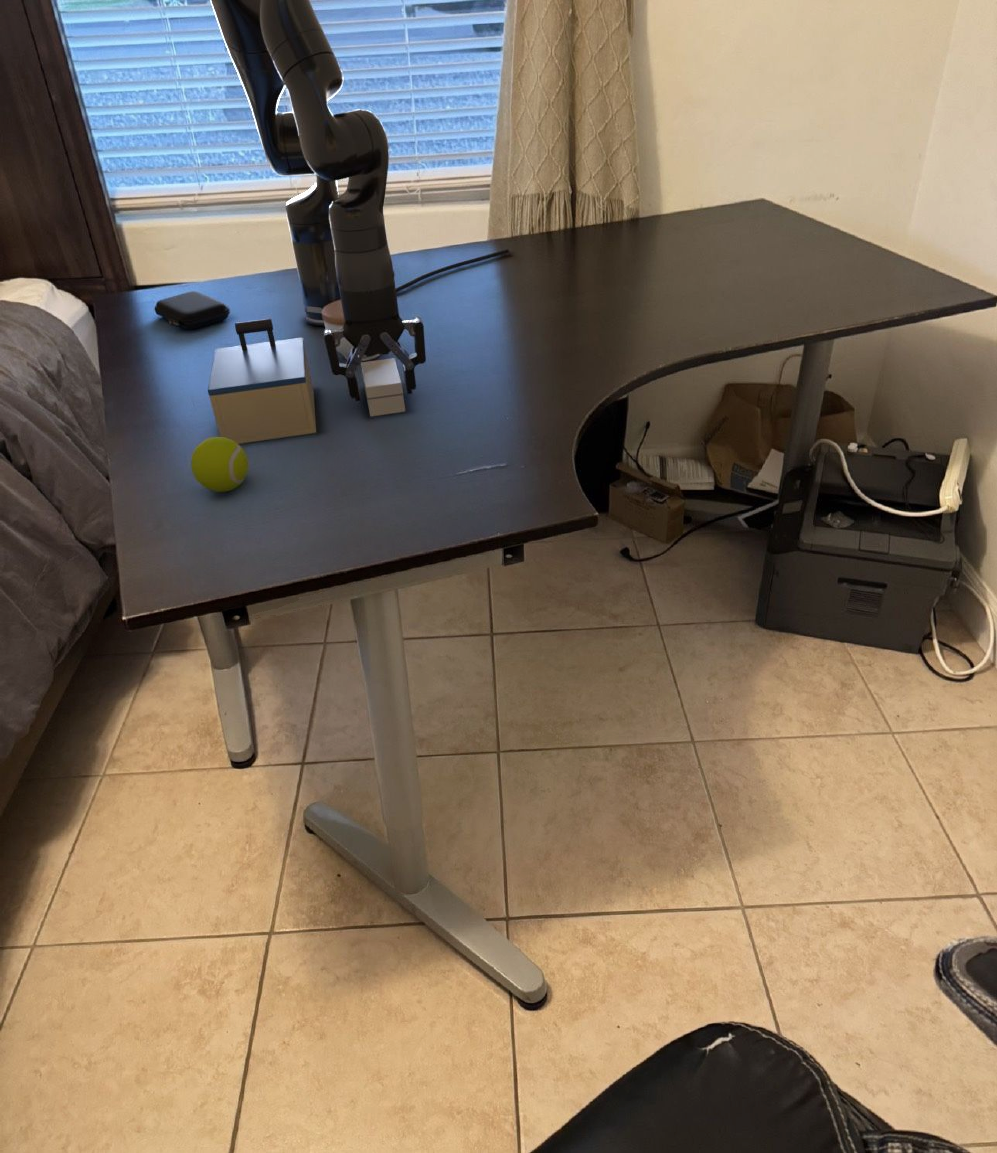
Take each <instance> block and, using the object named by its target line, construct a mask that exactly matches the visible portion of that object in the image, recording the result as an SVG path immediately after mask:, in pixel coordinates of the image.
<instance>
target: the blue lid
mask: <svg viewBox="0 0 997 1153" xmlns="http://www.w3.org/2000/svg"><path fill="white" fill-rule="evenodd" d="M234 329H235V333H236V335H238V339H239V342H240V345H234V346H226V347H219V348H215V349H214V354H213V358H212V359H213V360H212V364H211V370H210V377H209V382H208V385H207V395H208V396H209V395H217V394H224V393H232V392H239V391H246V390H254V389H261V388H268V387H276V386H283V385H290V384H298V383H305V382H306V373H305V353H304V346H305V340H304V337H296V338H295V337H294V338H287V339H280V340H279V339H278V340H275V337H274V332H273V331H274V326H273V320H272V318H264V319H263V318H261V319H254V320H247V321H239V322H235V323H234ZM260 332H266V333H267V336H268V341H264V342H257V343H256V342H255V343H249V344H247V340H246V336H245V334H246V335H247V334H254V333H260Z"/></svg>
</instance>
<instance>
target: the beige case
mask: <svg viewBox="0 0 997 1153" xmlns="http://www.w3.org/2000/svg"><path fill="white" fill-rule="evenodd" d="M395 358H396V357H391V358H385V359H377V360H368V361H361V362H360V367H361V375H362V380H363V386H364V392H365V396H366V397H365V398H366V401H367V406H368V412H369V416H370V418H371V417H377V416H378V417H379V416H384V415H391V414H398V413H399V414H400V413H406V405H405V398H404V390H403V384H402V379H401V376H400V373H399V372H400V371H399V369H398V365H397V361H396V359H395Z"/></svg>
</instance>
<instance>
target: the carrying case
mask: <svg viewBox="0 0 997 1153" xmlns="http://www.w3.org/2000/svg"><path fill="white" fill-rule="evenodd" d="M154 312H155V314H156V315H157V316H160V317H162V318H164V319H166V320H167V321H168V323H169V325H171V326H177V327H182V328H184V329H187V330H197V329H198V328H202V327H206V326H208V325H209V326H210V325H213V324H216V323H218V322H222V321H225V320H227V319H228V318H229V315H230V314H231V308H230V307H229V306H228V305H227V304H225V303H224V302H222V301H220V300H217V299H215V298H214V297H210V296H208V295H206V294H204V293H201V292H199V291H194V290H193V291H192V290H191V291H188V292H184V293H180V294H177V295H174V296H173V295H172V296H170V297H166V298H163V299H160V300H158V301H157V302H156V304H155V306H154Z"/></svg>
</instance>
